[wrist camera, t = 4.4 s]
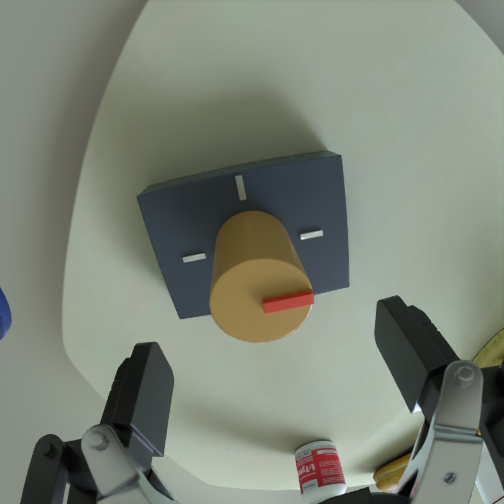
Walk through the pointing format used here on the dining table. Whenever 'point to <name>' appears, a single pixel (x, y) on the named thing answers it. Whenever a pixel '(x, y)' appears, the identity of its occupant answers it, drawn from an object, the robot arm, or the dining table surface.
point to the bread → (392, 473)
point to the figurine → (491, 352)
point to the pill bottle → (319, 471)
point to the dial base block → (249, 199)
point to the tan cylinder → (258, 280)
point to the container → (488, 479)
